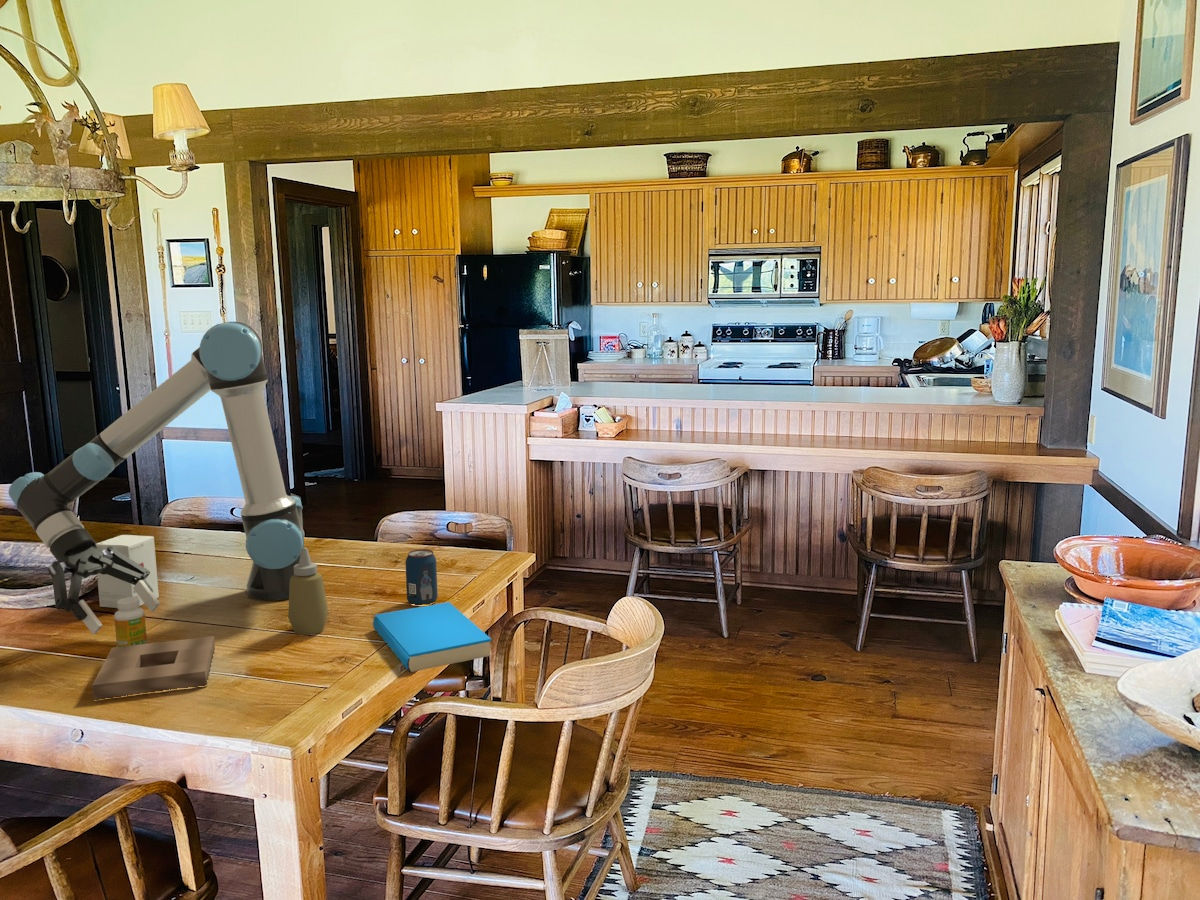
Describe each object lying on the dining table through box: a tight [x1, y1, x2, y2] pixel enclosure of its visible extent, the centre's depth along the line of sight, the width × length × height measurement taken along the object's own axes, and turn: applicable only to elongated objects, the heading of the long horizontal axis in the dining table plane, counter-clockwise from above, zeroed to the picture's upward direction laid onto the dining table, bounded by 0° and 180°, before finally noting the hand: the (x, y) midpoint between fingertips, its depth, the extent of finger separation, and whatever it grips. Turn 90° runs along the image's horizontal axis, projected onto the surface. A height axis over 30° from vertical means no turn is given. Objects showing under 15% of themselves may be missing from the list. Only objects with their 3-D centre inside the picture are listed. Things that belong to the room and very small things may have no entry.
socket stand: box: [91, 635, 216, 701], centre depth 165 cm, size 18×18×3 cm
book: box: [372, 601, 492, 673], centre depth 180 cm, size 17×4×25 cm
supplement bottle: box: [114, 597, 148, 647], centre depth 178 cm, size 5×5×10 cm
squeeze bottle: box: [287, 547, 329, 636], centre depth 186 cm, size 8×8×18 cm
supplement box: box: [95, 534, 160, 609], centre depth 204 cm, size 9×9×15 cm
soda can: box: [405, 548, 439, 605], centre depth 203 cm, size 7×7×12 cm
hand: (128, 618), depth 178 cm, fingers open, 13 cm apart
